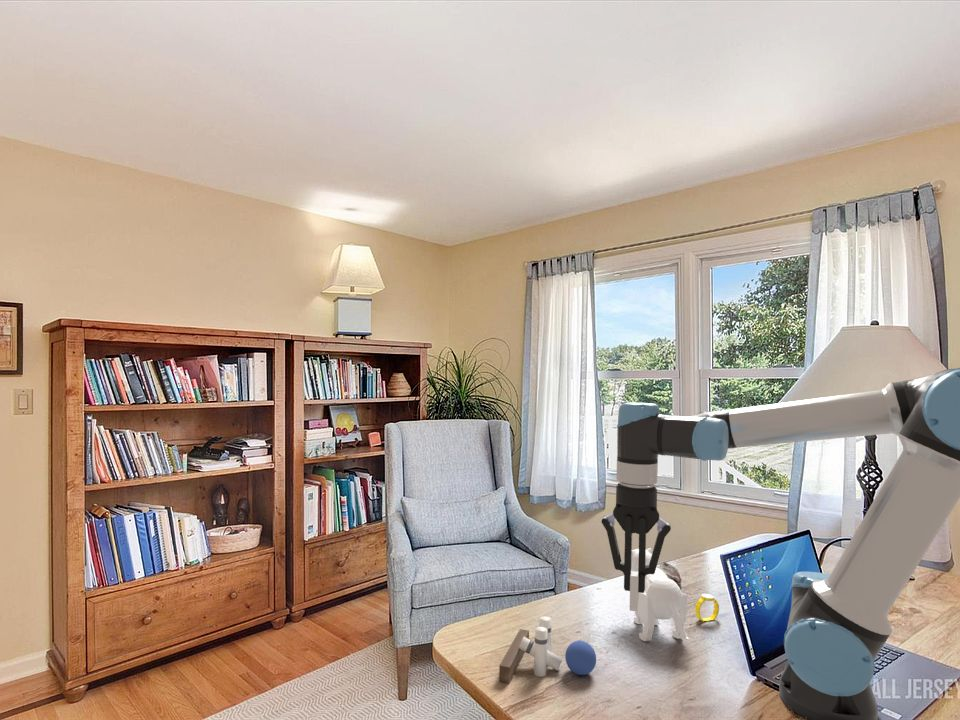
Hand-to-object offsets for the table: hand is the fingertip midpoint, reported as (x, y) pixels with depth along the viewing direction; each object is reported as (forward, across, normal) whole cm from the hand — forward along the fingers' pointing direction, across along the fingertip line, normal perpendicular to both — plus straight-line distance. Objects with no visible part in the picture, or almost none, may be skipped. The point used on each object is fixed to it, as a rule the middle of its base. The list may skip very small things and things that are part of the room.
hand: (633, 608), depth 108 cm
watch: (+15, -16, -35) cm, 41 cm away
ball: (+11, +10, 0) cm, 15 cm away
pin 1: (+14, +17, -2) cm, 23 cm away
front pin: (+13, +14, 0) cm, 19 cm away
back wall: (+14, +23, 0) cm, 27 cm away
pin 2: (+14, +17, +2) cm, 23 cm away
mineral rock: (+15, -6, -55) cm, 58 cm away
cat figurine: (+15, -4, -24) cm, 28 cm away
